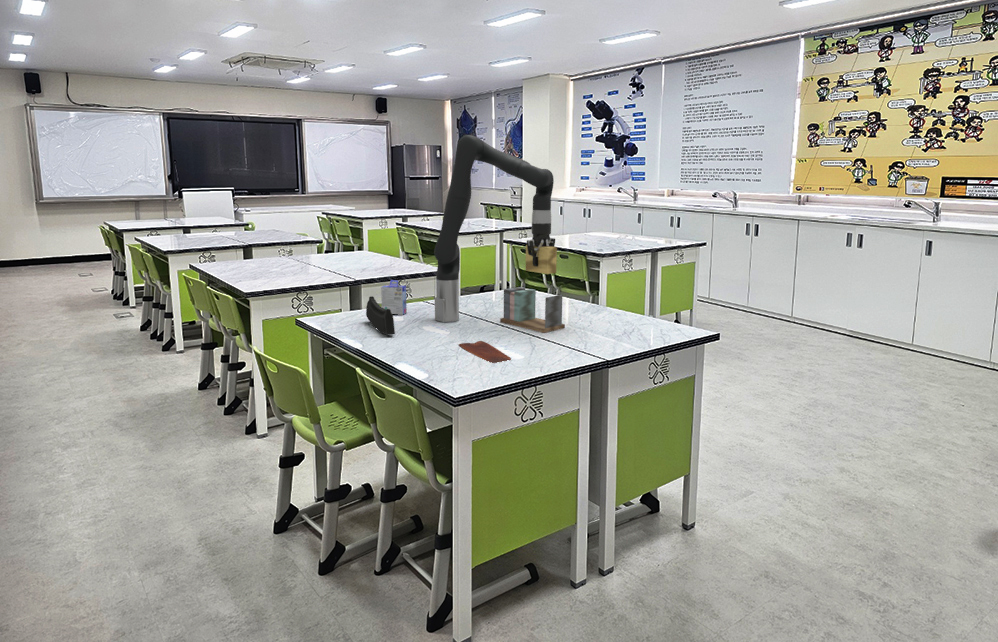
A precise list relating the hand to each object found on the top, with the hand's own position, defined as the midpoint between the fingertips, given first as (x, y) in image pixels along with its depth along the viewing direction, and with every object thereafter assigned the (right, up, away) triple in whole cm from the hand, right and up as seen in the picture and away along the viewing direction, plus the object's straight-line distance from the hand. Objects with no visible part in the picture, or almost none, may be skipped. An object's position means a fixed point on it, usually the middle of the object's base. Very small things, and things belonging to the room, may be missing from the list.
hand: (540, 265), depth 268 cm
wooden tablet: (-21, -33, -32) cm, 51 cm away
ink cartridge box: (-62, -19, +29) cm, 71 cm away
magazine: (-63, -25, +1) cm, 68 cm away
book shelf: (-3, -23, +9) cm, 25 cm away
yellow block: (0, -2, +1) cm, 2 cm away
